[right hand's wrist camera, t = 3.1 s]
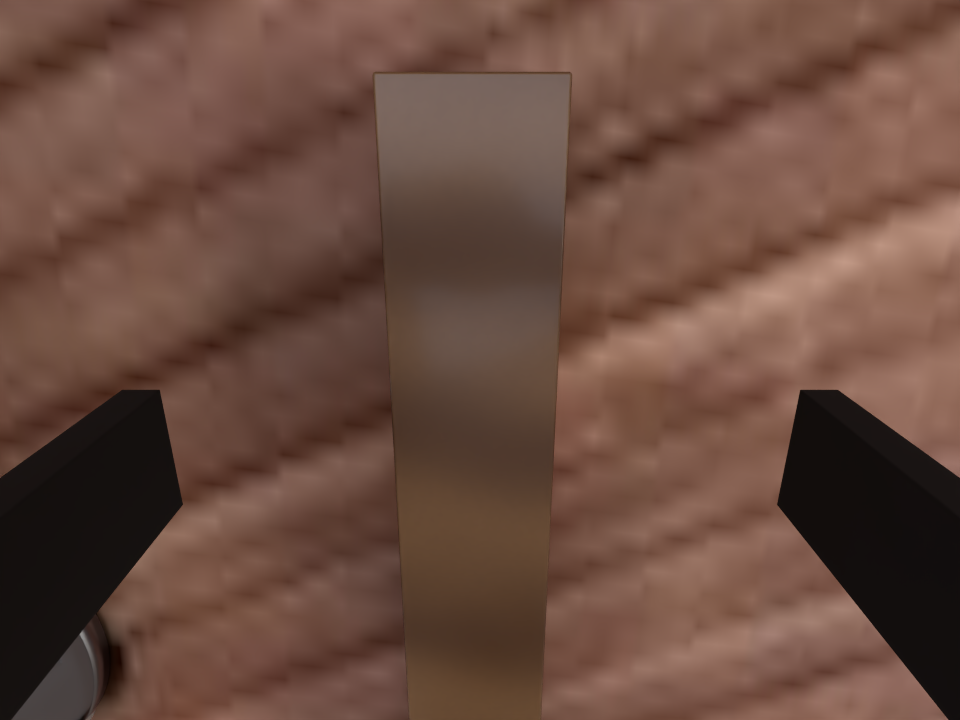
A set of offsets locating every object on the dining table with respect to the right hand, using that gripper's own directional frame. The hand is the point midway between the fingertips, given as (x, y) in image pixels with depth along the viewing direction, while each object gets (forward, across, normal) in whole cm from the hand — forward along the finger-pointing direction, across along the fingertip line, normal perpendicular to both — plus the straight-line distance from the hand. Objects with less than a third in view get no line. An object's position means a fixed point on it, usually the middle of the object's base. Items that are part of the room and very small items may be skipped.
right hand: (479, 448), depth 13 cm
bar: (+12, 0, -21) cm, 25 cm away
